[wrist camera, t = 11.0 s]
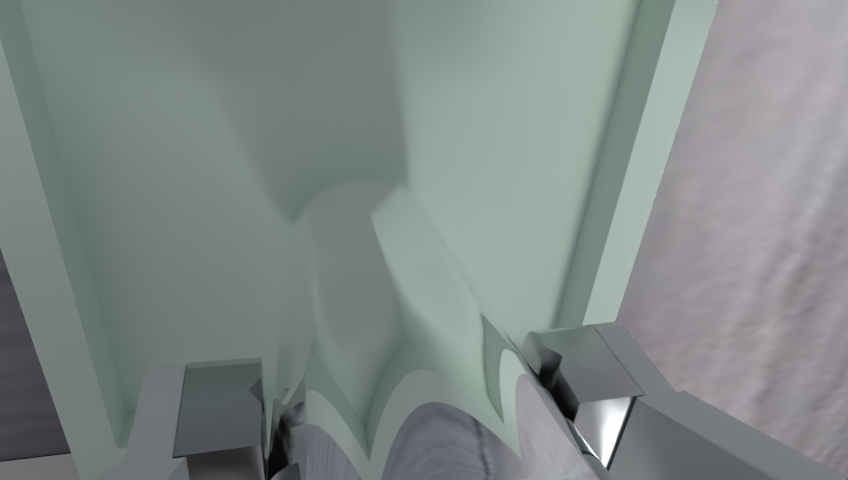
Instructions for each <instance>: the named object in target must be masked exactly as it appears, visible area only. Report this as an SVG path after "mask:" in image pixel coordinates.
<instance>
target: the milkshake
mask: <svg viewBox="0 0 848 480" xmlns="http://www.w3.org/2000/svg"><path fill="white" fill-rule="evenodd" d="M265 480H614V479H613V478H612V476H611V475H610V473H609V472H608V471H607V469H606V468H605V466H604V465H603V464H602V462H601V461H600V460H599V458H598V457H597V455H596V454H595V453H594V451H593V450H592V449H591V447H590V446H589V444H588V443H587V442H586V440H585V439H584V437H583V436H582V435H581V433H580V432H579V431H578V429H577V428H576V426H575V425H574V424H573V422H572V421H571V420H570V418H569V417H568V415H567V414H566V413H565V411H564V410H563V409H562V407H561V406H560V404H559V403H558V402H557V400H556V399H555V398H554V396H553V395H552V393H551V392H550V391H549V389H548V388H547V387H546V385H545V384H544V383H543V381H542V380H541V379H540V377H539V376H538V375H537V373H536V372H535V371H534V369H533V368H532V367H531V366H530V364H529V363H528V362H527V360H526V359H525V357H524V356H523V355H522V353H521V352H520V350H519V349H518V347H517V346H516V344H515V343H514V341H513V340H512V338H511V337H510V336H509V334H508V333H507V331H506V330H505V328H504V327H503V325H502V324H501V322H500V321H499V319H498V318H497V316H496V315H495V313H494V312H493V310H492V309H491V307H490V306H489V304H488V303H487V301H486V300H485V298H484V296H483V295H482V293H481V292H480V290H479V289H478V287H477V286H476V284H475V283H474V281H473V280H472V278H471V277H470V275H469V274H468V272H467V271H466V269H465V268H464V266H463V265H462V263H461V262H460V260H459V259H458V257H457V256H456V254H455V253H454V251H453V250H452V248H451V247H450V245H449V244H448V242H447V241H446V239H445V238H444V236H443V235H442V233H441V232H440V230H439V229H438V227H437V226H436V224H435V223H434V222H433V220H432V219H431V218H430V216H429V215H428V214H427V213H426V212H425V211H424V210H423V209H422V208H421V207H420V206H419V205H418V203H417V202H416V201H415V200H414V199H413V198H412V197H411V196H410V195H409V194H408V192H407V191H406V190H405V189H404V188H403V187H402V186H397V185H391V184H385V183H379V182H374V181H368V180H363V179H357V178H354V179H352V180H349V181H347V182H345V183H342V184H340V185H338V186H335V187H333V188H330V189H328V190H326V191H323V192H321V193H318V194H316V195H313V196H311V197H309V199H308V200H307V202H306V203H305V205H304V207H303V208H302V210H301V211H300V213H299V215H298V216H297V218H296V219H295V221H294V222H293V224H292V225H291V227H290V229H289V230H288V232H287V233H286V235H285V239H284V250H283V264H282V278H281V292H280V306H279V320H278V334H277V348H276V362H275V377H274V391H273V406H272V419H271V430H270V440H269V450H268V460H267V469H266V478H265Z"/></svg>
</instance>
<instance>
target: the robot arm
mask: <svg viewBox="0 0 848 480" xmlns="http://www.w3.org/2000/svg"><path fill="white" fill-rule="evenodd" d="M522 351H523V353H524V355H525V357H526V359H527V360H528V361H527V362H528V363H529V364H530V366H531V367H532V368H533V369H534V371H535V372H536V373H537V375H538V376H539V377H540V379H541V380H542V381H543V383H544V384H545V385H546V387H547V388H548V389H549V391H550V392H551V393H552V395H553V396H554V398H555V399H556V400H557V402H558V403H559V404H560V406H561V407H562V409H563V410H564V411H565V413H566V414H567V415H568V417H569V418H570V420H571V421H572V422H573V424H574V425H575V426H576V428H577V429H578V431H579V432H580V433H581V435H582V436H583V437H584V439H585V440H586V442H587V443H588V444H589V446H590V447H591V449H592V450H593V451H594V453H595V454H596V455H597V457H598V458H599V460H600V461H601V462H602V464H603V465H604V466H605V468H606V469H607V471H608V472H609V473H610V475H611V476H612V478H613V479H614V480H848V479H847V478H845V477H843V476H842V475H840V474H838V473H836V472H834V471H832V470H830V469H829V468H827V467H825V466H823V465H821V464H819V463H817V462H816V461H814V460H812V459H810V458H808V457H806V456H804V455H803V454H801V453H799V452H797V451H795V450H793V449H791V448H790V447H788V446H786V445H784V444H782V443H780V442H779V441H777V440H775V439H773V438H771V437H769V436H767V435H766V434H764V433H762V432H760V431H758V430H756V429H754V428H753V427H751V426H749V425H747V424H745V423H743V422H741V421H740V420H738V419H736V418H734V417H732V416H730V415H728V414H727V413H725V412H723V411H721V410H719V409H717V408H715V407H714V406H712V405H710V404H708V403H706V402H704V401H702V400H701V399H699V398H697V397H695V396H693V395H691V394H689V393H688V392H686V391H681V392H676V391H675V390H674V389H673V387H672V386H671V385H670V384H669V382H668V381H667V380H666V379H665V377H664V376H663V375H662V374H661V372H660V371H659V370H658V369H657V367H656V366H655V365H654V364H653V363H652V361H651V360H650V359H649V358H648V356H647V355H646V354H645V353H644V351H643V350H642V349H641V348H640V346H639V345H638V344H637V343H636V341H635V340H634V339H633V338H632V336H631V335H630V334H629V333H628V332H627V330H626V329H625V328H624V327H623V326H622V325H621V324H619V323H617V322H607V323H599V324H590V325H586V326H575V327H565V328H556V329H546V330H536V331H530V332H529V333H528V334H527V336H526V337H525V340H524V344H523V348H522ZM267 460H268V428H267V411H266V399H265V398H264V373H263V363H262V357H257V358H244V359H230V360H217V361H203V362H189V363H188V364H173V365H158V366H149V368H148V369H147V371H146V372H145V374H144V377H143V381H142V386H141V390H140V394H139V399H138V403H137V407H136V412H135V416H134V420H133V425H132V429H131V433H130V438H129V442H128V446H127V451H126V455H125V459H124V464H123V465H120V466H113V467H110V468H109V469H108V470H107V471H106V472H105V473H104V474H103V475H102V476H101V477H100V478H99V479H98V480H265V478H266V469H267Z"/></svg>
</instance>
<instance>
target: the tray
mask: <svg viewBox="0 0 848 480" xmlns="http://www.w3.org/2000/svg"><path fill="white" fill-rule="evenodd" d="M718 3H719V0H0V249H1V252H2V255H3V258H4V261H5V263H6V266H7V269H8V272H9V275H10V278H11V281H12V284H13V287H14V289H15V292H16V295H17V298H18V301H19V304H20V307H21V310H22V313H23V316H24V318H25V321H26V324H27V327H28V330H29V333H30V336H31V339H32V342H33V344H34V347H35V350H36V353H37V356H38V359H39V362H40V365H41V368H42V370H43V373H44V376H45V379H46V382H47V385H48V388H49V391H50V394H51V396H52V399H53V402H54V405H55V408H56V411H57V414H58V417H59V420H60V423H61V425H62V428H63V431H64V434H65V437H66V440H67V443H68V446H69V449H70V451H71V454H72V457H73V460H74V463H75V466H76V469H77V472H78V475H79V477H80V480H94V479H99V478H100V477H101V476H102V475H103V474H104V473H105V472H106V471H107V470H108V469H109V468H110V467H113V466H120V465H123V464H124V459H125V455H126V451H127V446H128V442H129V438H130V433H131V429H132V425H133V420H134V416H135V412H136V407H137V403H138V399H139V394H140V390H141V386H142V381H143V377H144V374H145V372H146V371H147V369H148V368H149V366H158V365H173V364H188V363H189V362H203V361H217V360H230V359H244V358H257V357H262V363H263V373H264V398H265V399H266V411H267V428H268V450H269V440H270V430H271V419H272V406H273V391H274V377H275V362H276V348H277V334H278V320H279V306H280V292H281V278H282V264H283V250H284V239H285V235H286V233H287V232H288V230H289V229H290V227H291V225H292V224H293V222H294V221H295V219H296V218H297V216H298V215H299V213H300V211H301V210H302V208H303V207H304V205H305V203H306V202H307V200H308V199H309V197H311V196H313V195H316V194H318V193H321V192H323V191H326V190H328V189H330V188H333V187H335V186H338V185H340V184H342V183H345V182H347V181H349V180H352V179H354V178H357V179H363V180H368V181H374V182H379V183H385V184H391V185H397V186H402V187H403V188H404V189H405V190H406V191H407V192H408V194H409V195H410V196H411V197H412V198H413V199H414V200H415V201H416V202H417V203H418V205H419V206H420V207H421V208H422V209H423V210H424V211H425V212H426V213H427V214H428V215H429V216H430V218H431V219H432V220H433V222H434V223H435V224H436V226H437V227H438V229H439V230H440V232H441V233H442V235H443V236H444V238H445V239H446V241H447V242H448V244H449V245H450V247H451V248H452V250H453V251H454V253H455V254H456V256H457V257H458V259H459V260H460V262H461V263H462V265H463V266H464V268H465V269H466V271H467V272H468V274H469V275H470V277H471V278H472V280H473V281H474V283H475V284H476V286H477V287H478V289H479V290H480V292H481V293H482V295H483V296H484V298H485V300H486V301H487V303H488V304H489V306H490V307H491V309H492V310H493V312H494V313H495V315H496V316H497V318H498V319H499V321H500V322H501V324H502V325H503V327H504V328H505V330H506V331H507V333H508V334H509V336H510V337H511V338H512V340H513V341H514V343H515V344H516V346H517V347H518V349H519V350H520V352H521V353H522V355H523V356H524V357H525V355H524V353H523V351H522V348H523V344H524V340H525V337H526V336H527V334H528V333H529V332H530V331H536V330H546V329H556V328H565V327H575V326H586V325H590V324H599V323H607V322H615V321H616V318H617V315H618V312H619V309H620V305H621V302H622V299H623V296H624V293H625V290H626V287H627V284H628V281H629V278H630V275H631V271H632V268H633V265H634V262H635V259H636V256H637V253H638V250H639V247H640V244H641V241H642V238H643V234H644V231H645V228H646V225H647V222H648V219H649V216H650V213H651V210H652V207H653V204H654V201H655V197H656V194H657V191H658V188H659V185H660V182H661V179H662V176H663V173H664V170H665V167H666V164H667V160H668V157H669V154H670V151H671V148H672V145H673V142H674V139H675V136H676V133H677V130H678V126H679V123H680V120H681V117H682V114H683V111H684V108H685V105H686V102H687V99H688V96H689V93H690V89H691V86H692V83H693V80H694V77H695V74H696V71H697V68H698V65H699V62H700V59H701V56H702V52H703V49H704V46H705V43H706V40H707V37H708V34H709V31H710V28H711V25H712V22H713V18H714V15H715V12H716V9H717V6H718ZM525 359H526V357H525ZM526 360H527V359H526ZM527 361H528V360H527Z"/></svg>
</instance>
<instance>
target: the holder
mask: <svg viewBox="0 0 848 480" xmlns="http://www.w3.org/2000/svg"><path fill="white" fill-rule="evenodd" d="M0 480H80V477H79V475H78V472H77V469H76V466H75V463H74V460H73V457H72V454H71V453H70V454H62V455H54V456H45V457H37V458H29V459H21V460H12V461H4V462H0ZM94 480H98V479H94Z"/></svg>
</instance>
